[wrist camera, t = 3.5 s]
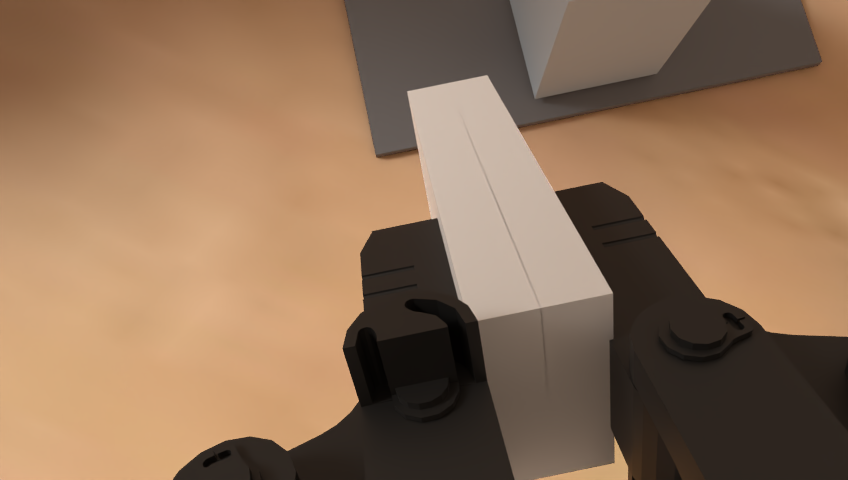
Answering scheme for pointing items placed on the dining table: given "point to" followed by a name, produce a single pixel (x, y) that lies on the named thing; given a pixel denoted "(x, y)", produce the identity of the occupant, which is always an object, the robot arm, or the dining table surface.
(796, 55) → the mat
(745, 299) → the dining table surface
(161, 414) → the dining table surface
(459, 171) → the robot arm
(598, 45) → the block
